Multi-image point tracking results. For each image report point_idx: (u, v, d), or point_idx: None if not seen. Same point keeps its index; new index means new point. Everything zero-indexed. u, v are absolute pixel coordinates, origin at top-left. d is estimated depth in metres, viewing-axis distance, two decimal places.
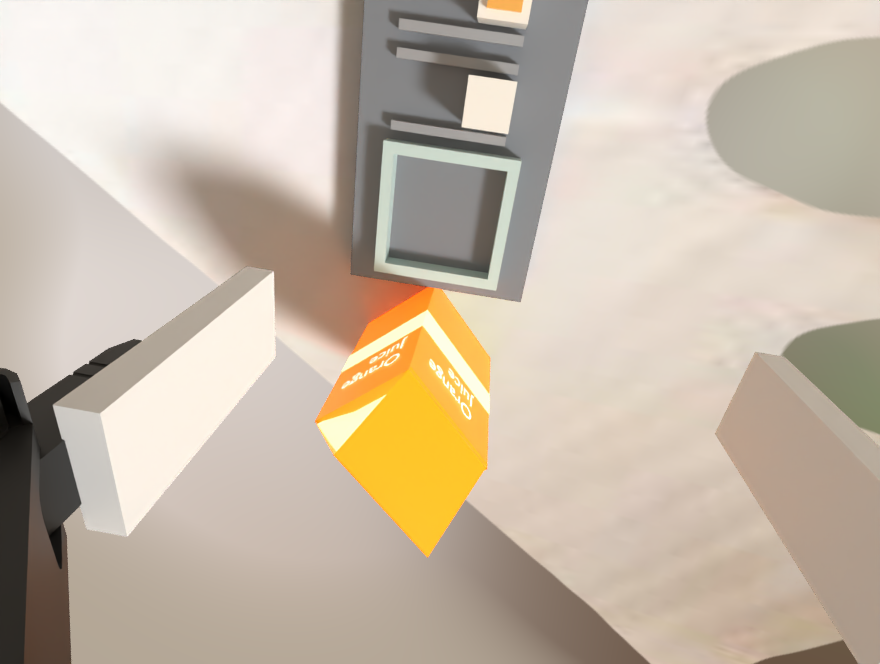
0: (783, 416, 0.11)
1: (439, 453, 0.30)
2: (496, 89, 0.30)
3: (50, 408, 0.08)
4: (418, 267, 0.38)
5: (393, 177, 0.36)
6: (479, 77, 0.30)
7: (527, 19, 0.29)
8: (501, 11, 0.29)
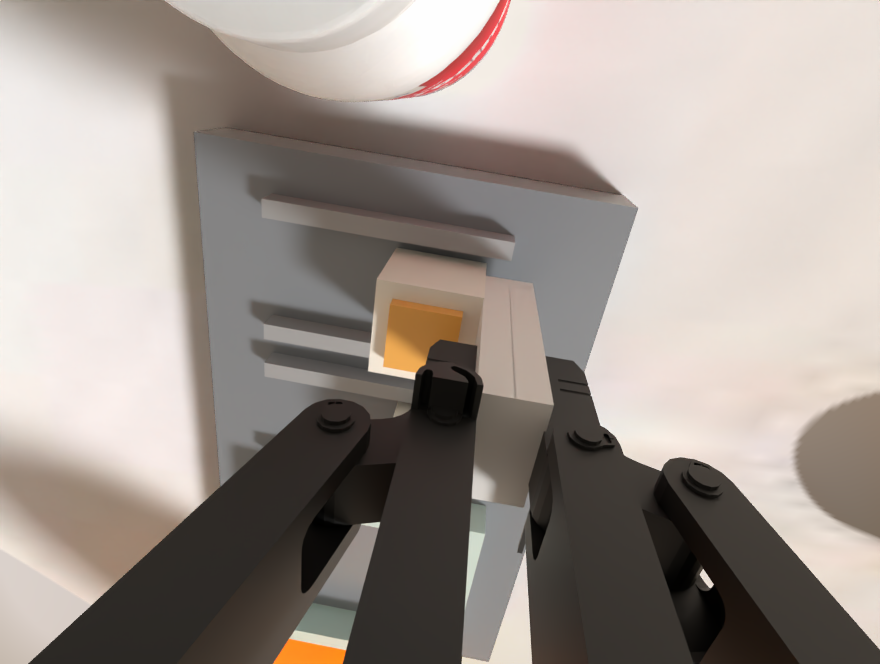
0: None
1: None
2: None
3: None
4: (326, 632, 0.24)
5: None
6: None
7: None
8: None
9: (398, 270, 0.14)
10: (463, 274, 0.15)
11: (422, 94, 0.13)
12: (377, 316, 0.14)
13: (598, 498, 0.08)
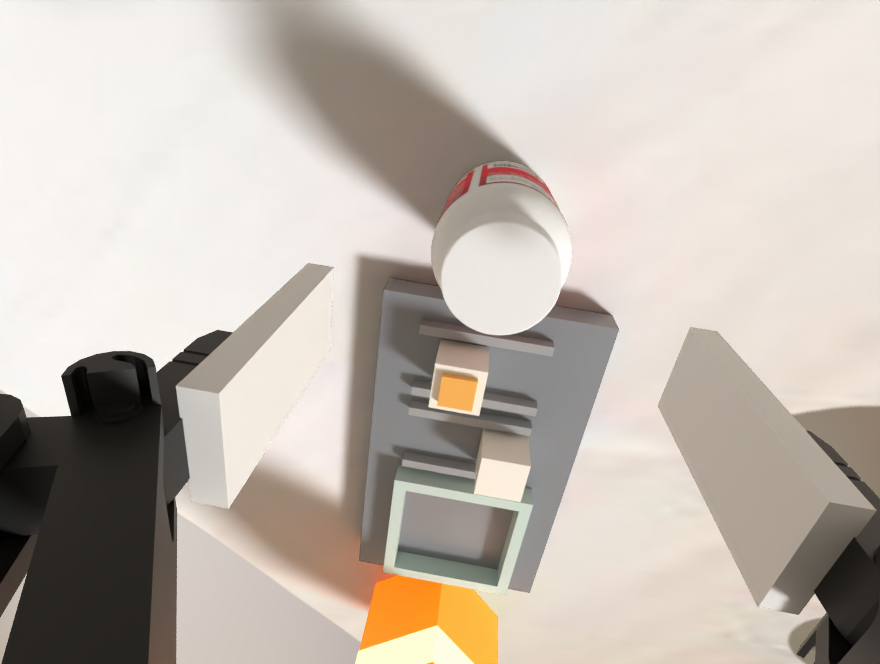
0: (708, 383, 0.12)
1: None
2: (509, 470, 0.30)
3: (161, 390, 0.09)
4: (427, 571, 0.38)
5: (403, 500, 0.36)
6: (492, 460, 0.30)
7: (478, 412, 0.29)
8: None
9: (444, 356, 0.28)
10: (477, 357, 0.29)
11: None
12: (434, 380, 0.28)
13: None
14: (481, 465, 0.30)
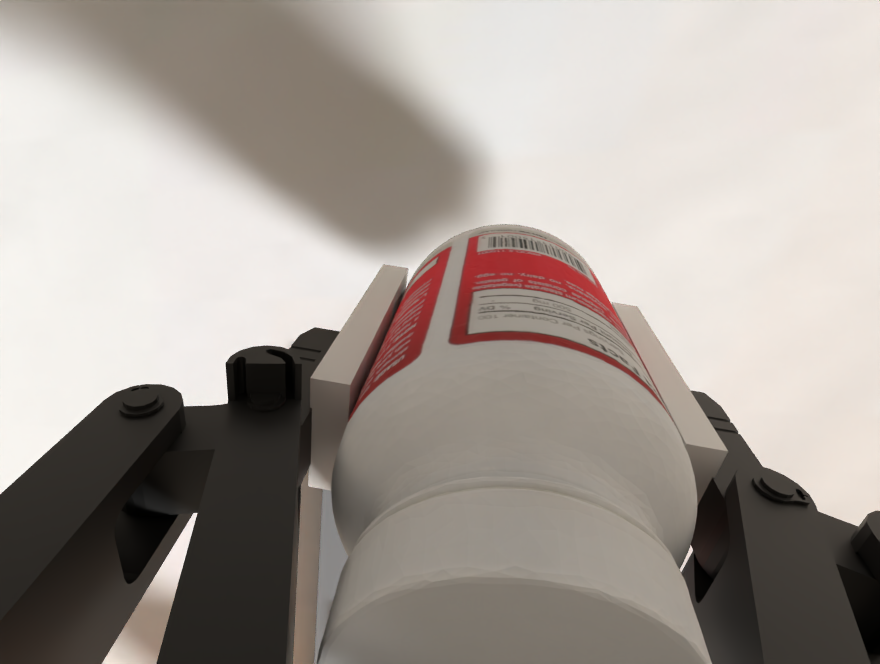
0: None
1: None
2: None
3: None
4: None
5: None
6: None
7: None
8: None
9: None
10: None
11: None
12: None
13: (787, 552, 0.07)
14: None
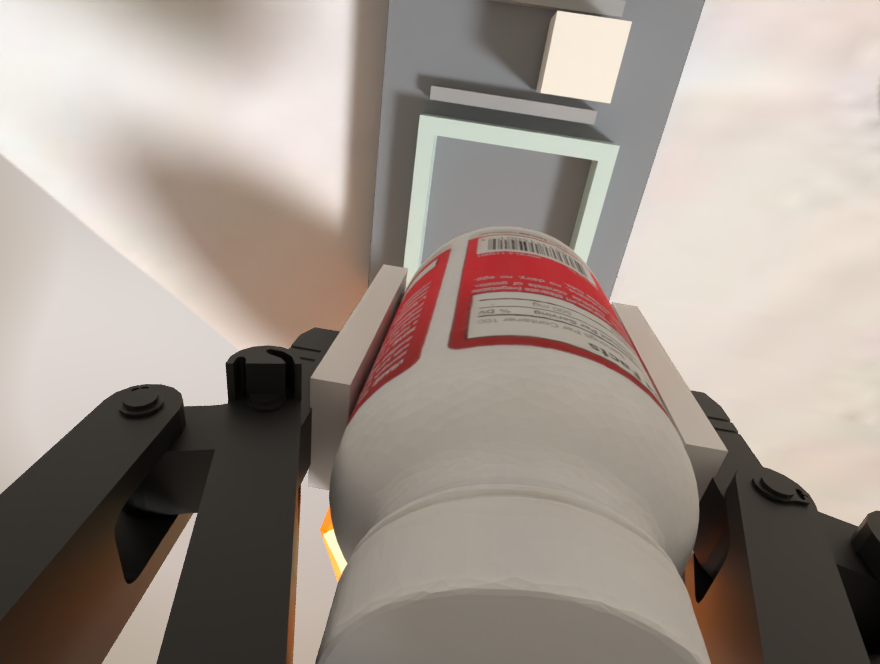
0: None
1: None
2: (598, 34, 0.20)
3: None
4: None
5: (431, 168, 0.25)
6: (573, 15, 0.20)
7: None
8: None
9: None
10: None
11: None
12: None
13: (787, 552, 0.07)
14: (555, 28, 0.20)
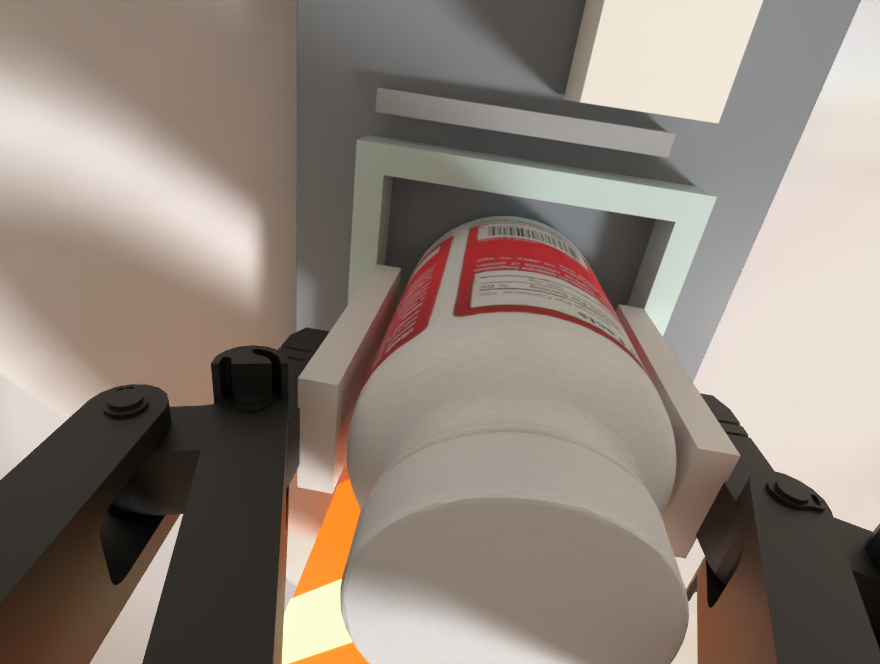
0: None
1: None
2: None
3: None
4: None
5: (383, 228, 0.15)
6: None
7: None
8: None
9: None
10: None
11: None
12: None
13: (801, 558, 0.07)
14: None
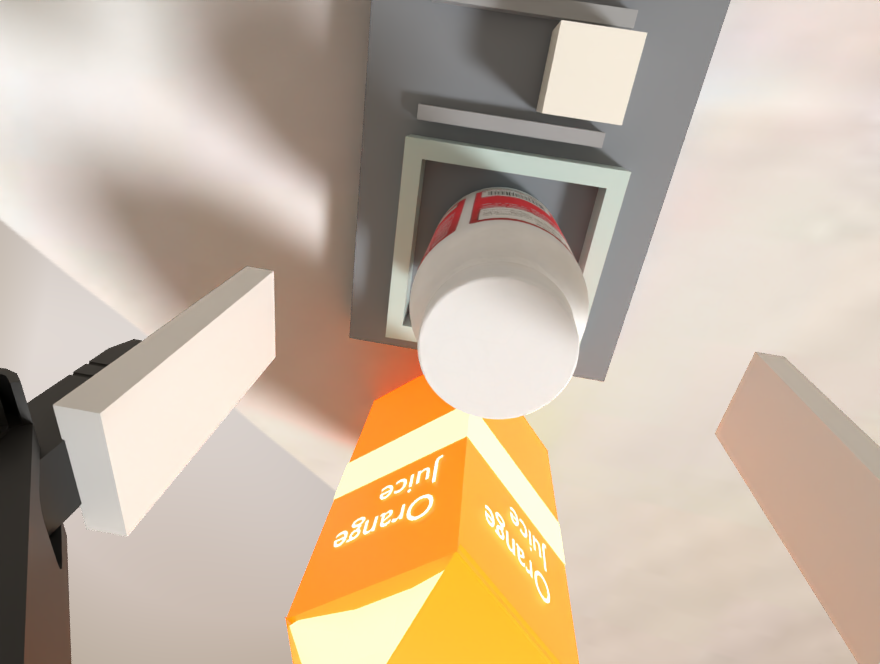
0: (783, 416, 0.11)
1: None
2: (608, 47, 0.17)
3: (50, 408, 0.08)
4: None
5: (419, 195, 0.23)
6: (580, 25, 0.17)
7: None
8: None
9: None
10: None
11: None
12: None
13: None
14: (559, 40, 0.17)
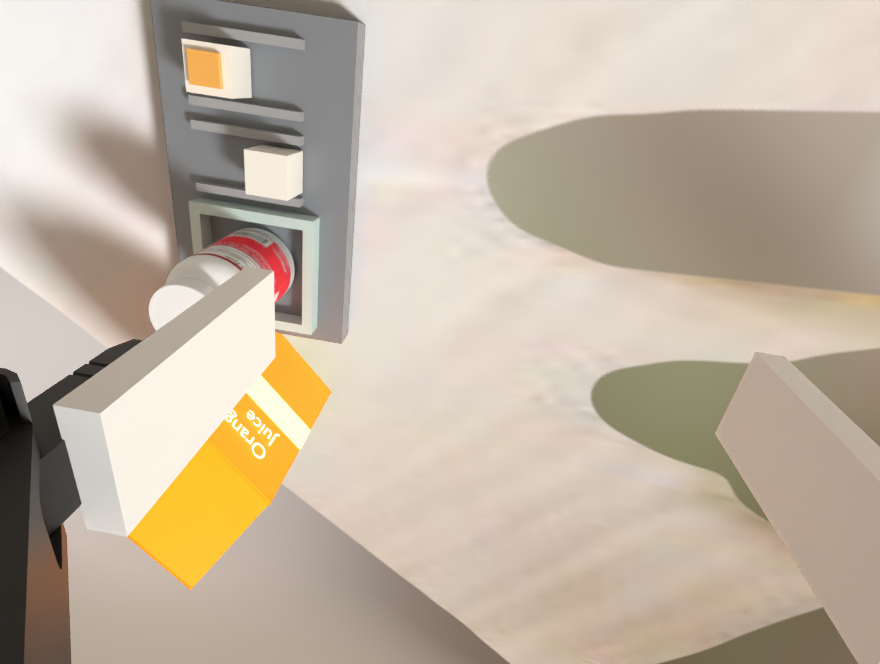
0: (783, 416, 0.11)
1: (212, 493, 0.33)
2: (270, 162, 0.33)
3: (50, 408, 0.08)
4: None
5: (206, 232, 0.39)
6: (253, 151, 0.33)
7: (229, 94, 0.32)
8: (206, 86, 0.32)
9: None
10: None
11: None
12: (185, 59, 0.31)
13: None
14: (245, 158, 0.33)
